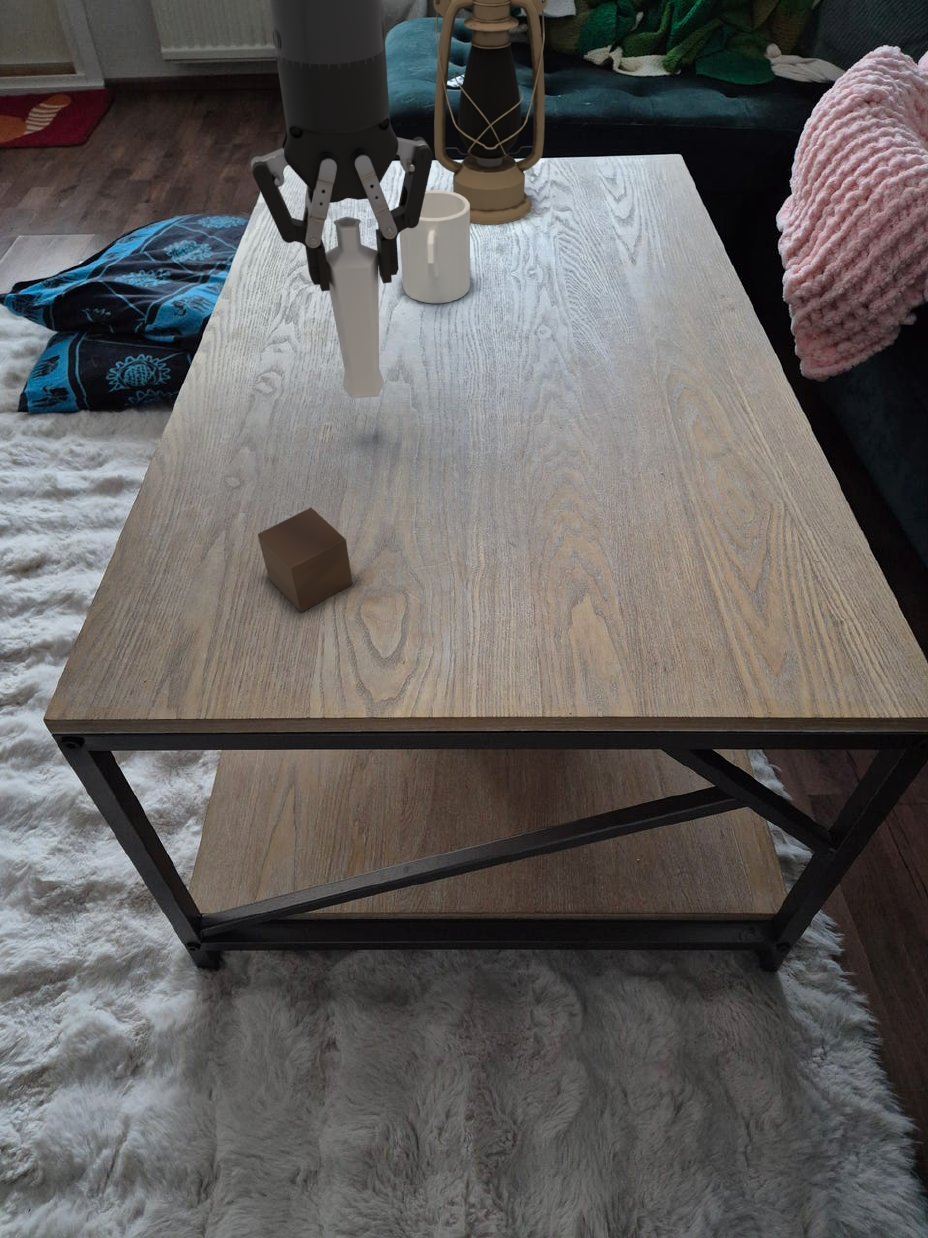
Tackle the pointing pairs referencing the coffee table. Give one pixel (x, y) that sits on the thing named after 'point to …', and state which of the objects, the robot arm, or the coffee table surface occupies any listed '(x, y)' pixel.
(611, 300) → the coffee table surface
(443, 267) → the mug
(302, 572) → the walnut block
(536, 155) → the lantern
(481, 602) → the coffee table surface
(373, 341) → the perfume bottle
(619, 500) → the coffee table surface
